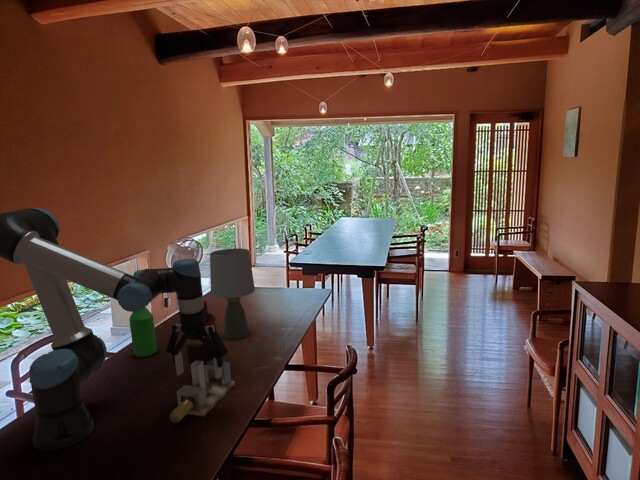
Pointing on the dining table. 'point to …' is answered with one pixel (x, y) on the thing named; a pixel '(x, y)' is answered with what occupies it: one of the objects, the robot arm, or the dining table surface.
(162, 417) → the dining table surface
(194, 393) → the sleeve
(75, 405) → the robot arm
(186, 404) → the slide bolt
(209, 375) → the socket
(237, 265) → the lamp
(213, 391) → the plank
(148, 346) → the bottle
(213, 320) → the vase
